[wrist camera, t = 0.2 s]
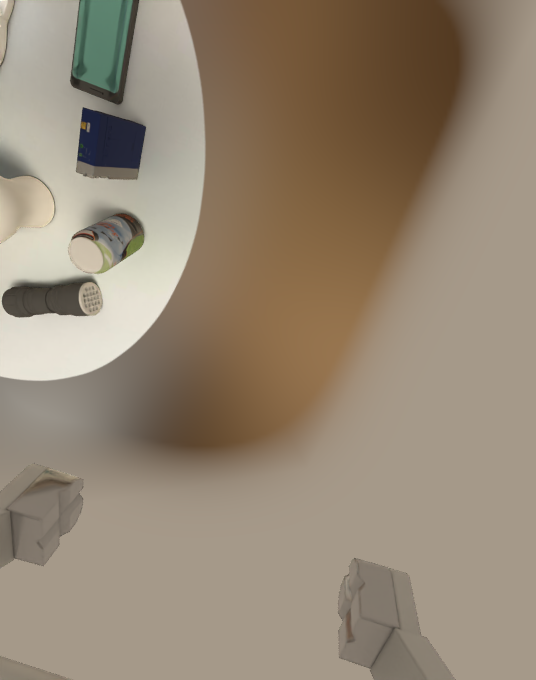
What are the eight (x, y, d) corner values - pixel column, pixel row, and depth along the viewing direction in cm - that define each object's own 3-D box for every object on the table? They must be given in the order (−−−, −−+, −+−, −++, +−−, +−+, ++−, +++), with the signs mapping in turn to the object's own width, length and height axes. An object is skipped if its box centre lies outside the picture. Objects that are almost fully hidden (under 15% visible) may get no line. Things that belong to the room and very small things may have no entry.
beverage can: (146, 214, 60) (103, 222, 49) (148, 261, 62) (109, 279, 51) (107, 211, 60) (57, 218, 49) (112, 258, 63) (65, 274, 52)
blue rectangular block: (131, 120, 55) (80, 105, 44) (146, 126, 55) (99, 112, 44) (122, 174, 58) (73, 173, 47) (137, 179, 58) (91, 179, 47)
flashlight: (27, 312, 70) (4, 322, 65) (17, 283, 68) (-8, 291, 63) (105, 309, 67) (86, 319, 62) (97, 278, 65) (77, 287, 60)
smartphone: (139, -32, 47) (117, 104, 53) (143, -26, 48) (121, 105, 54) (82, -53, 47) (67, 84, 53) (88, -48, 48) (72, 86, 54)
